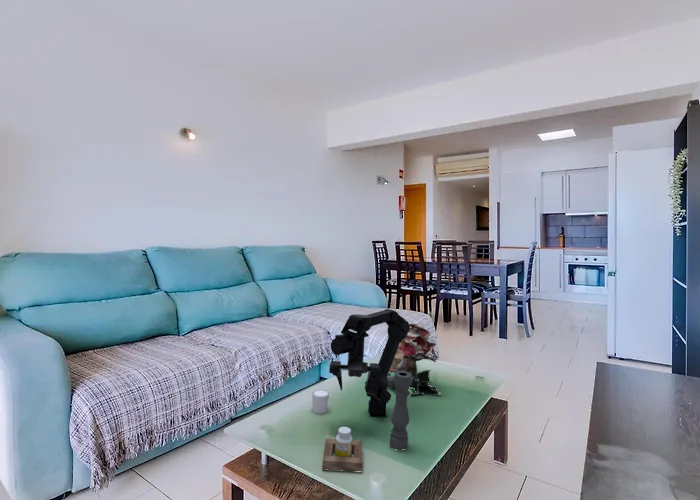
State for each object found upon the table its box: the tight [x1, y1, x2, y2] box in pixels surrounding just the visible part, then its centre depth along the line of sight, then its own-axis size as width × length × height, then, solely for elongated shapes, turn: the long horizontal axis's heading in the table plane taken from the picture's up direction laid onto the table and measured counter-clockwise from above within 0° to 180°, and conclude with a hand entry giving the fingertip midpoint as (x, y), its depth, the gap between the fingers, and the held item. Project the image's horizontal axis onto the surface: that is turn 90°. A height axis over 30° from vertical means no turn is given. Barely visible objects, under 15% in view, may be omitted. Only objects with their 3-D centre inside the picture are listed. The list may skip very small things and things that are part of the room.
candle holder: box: [389, 371, 411, 450], centre depth 130 cm, size 6×6×25 cm
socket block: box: [321, 438, 363, 472], centre depth 121 cm, size 12×12×3 cm
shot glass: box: [311, 389, 330, 415], centre depth 153 cm, size 7×7×7 cm
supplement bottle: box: [334, 426, 353, 457], centre depth 121 cm, size 5×5×10 cm
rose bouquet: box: [382, 322, 439, 397], centre depth 180 cm, size 26×29×30 cm
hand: (353, 390), depth 142 cm, fingers open, 9 cm apart
